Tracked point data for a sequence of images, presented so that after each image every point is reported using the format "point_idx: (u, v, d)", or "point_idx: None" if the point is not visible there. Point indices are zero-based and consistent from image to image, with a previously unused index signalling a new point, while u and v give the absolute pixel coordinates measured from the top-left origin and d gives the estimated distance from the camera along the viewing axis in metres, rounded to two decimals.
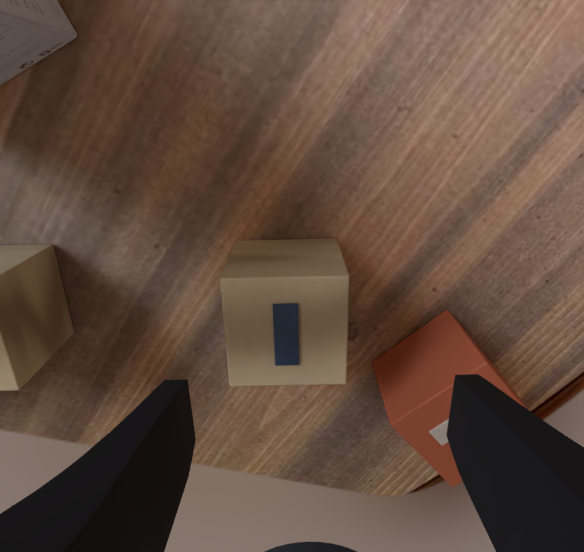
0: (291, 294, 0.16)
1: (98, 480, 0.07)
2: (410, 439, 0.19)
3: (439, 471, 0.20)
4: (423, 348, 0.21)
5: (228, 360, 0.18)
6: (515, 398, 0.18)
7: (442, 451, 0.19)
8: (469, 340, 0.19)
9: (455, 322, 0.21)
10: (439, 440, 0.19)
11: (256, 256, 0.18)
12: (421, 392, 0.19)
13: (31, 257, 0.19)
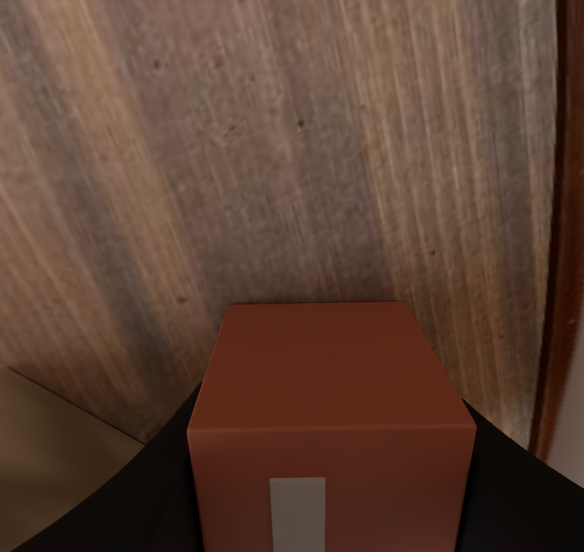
0: None
1: (158, 479, 0.07)
2: None
3: None
4: None
5: None
6: (326, 430, 0.07)
7: None
8: (206, 371, 0.09)
9: (219, 331, 0.11)
10: None
11: None
12: None
13: None
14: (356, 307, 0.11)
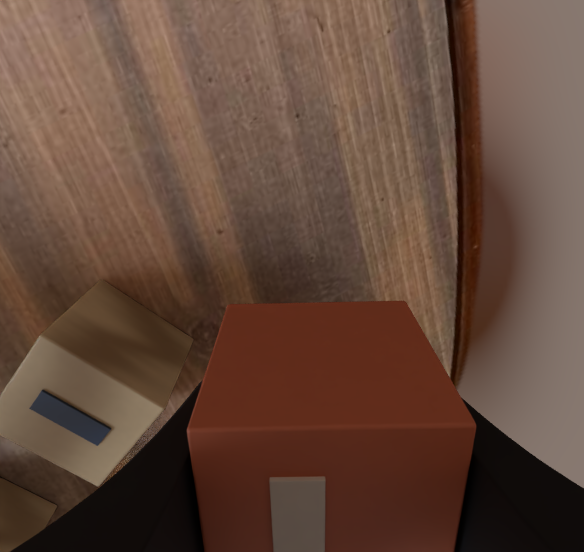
0: (30, 388, 0.15)
1: (158, 479, 0.07)
2: None
3: None
4: None
5: (69, 471, 0.17)
6: (325, 429, 0.07)
7: None
8: (206, 370, 0.09)
9: (219, 330, 0.11)
10: None
11: None
12: None
13: None
14: (356, 307, 0.11)
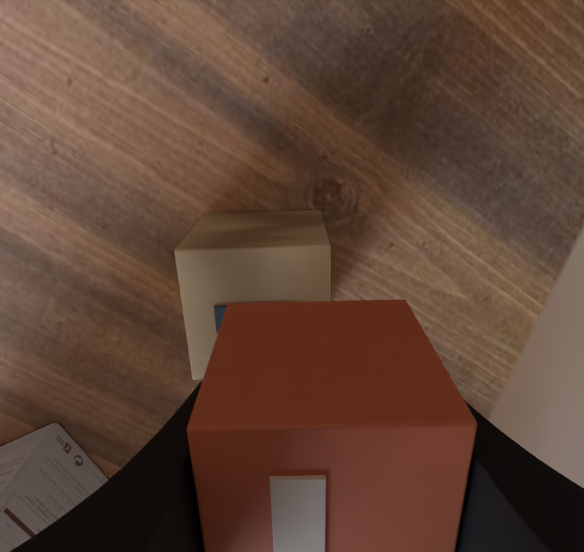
0: (204, 312, 0.14)
1: (158, 479, 0.07)
2: None
3: None
4: None
5: None
6: (326, 428, 0.07)
7: None
8: (206, 369, 0.09)
9: (219, 329, 0.11)
10: None
11: None
12: None
13: None
14: (356, 305, 0.11)
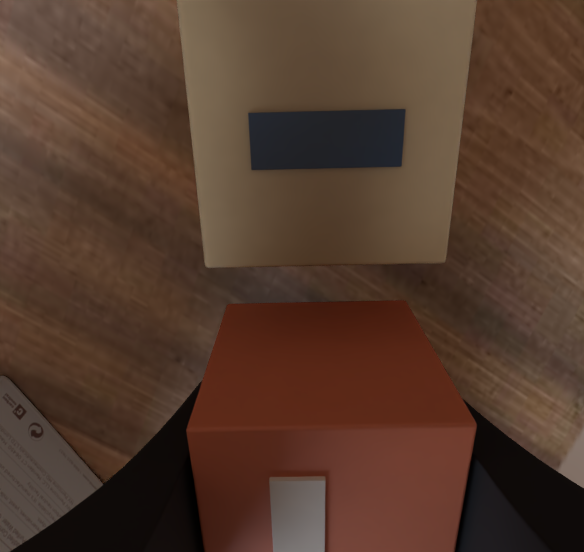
0: (230, 128, 0.08)
1: (158, 479, 0.07)
2: None
3: None
4: None
5: (382, 262, 0.09)
6: (325, 429, 0.07)
7: None
8: (206, 370, 0.09)
9: (219, 330, 0.11)
10: None
11: None
12: None
13: None
14: (356, 306, 0.11)
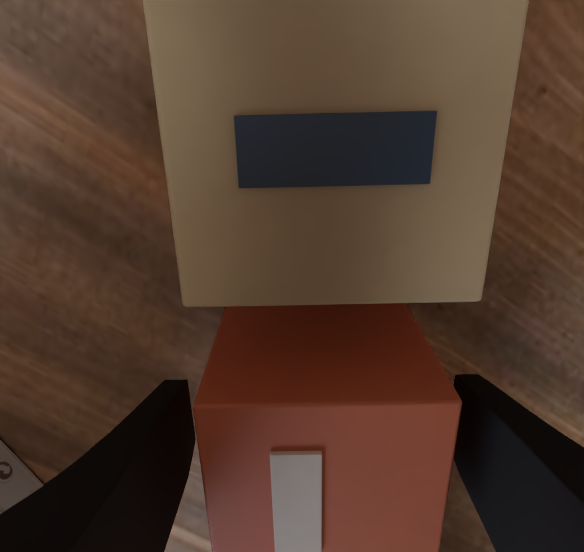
0: (211, 135, 0.06)
1: (98, 480, 0.07)
2: None
3: None
4: None
5: (403, 300, 0.07)
6: (322, 406, 0.08)
7: None
8: (210, 354, 0.10)
9: (222, 319, 0.11)
10: (305, 551, 0.09)
11: None
12: None
13: None
14: None
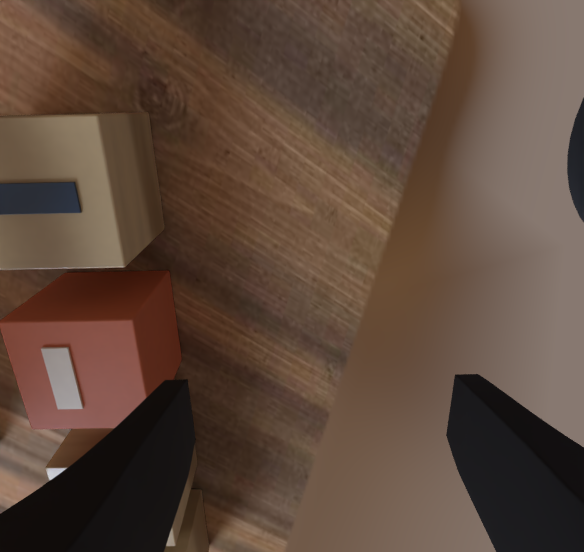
0: None
1: (98, 480, 0.07)
2: (60, 425, 0.17)
3: None
4: None
5: (87, 267, 0.15)
6: (63, 322, 0.16)
7: (95, 411, 0.17)
8: (26, 301, 0.17)
9: None
10: (73, 407, 0.17)
11: None
12: None
13: None
14: (136, 273, 0.20)
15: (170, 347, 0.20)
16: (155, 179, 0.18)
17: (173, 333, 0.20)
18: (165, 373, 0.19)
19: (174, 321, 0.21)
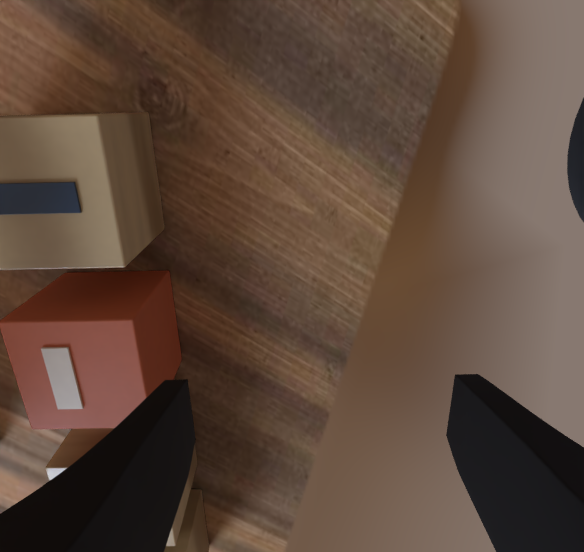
0: None
1: (98, 480, 0.07)
2: (60, 425, 0.17)
3: None
4: None
5: (87, 267, 0.15)
6: (63, 322, 0.16)
7: (95, 411, 0.17)
8: (27, 301, 0.17)
9: None
10: (73, 407, 0.17)
11: None
12: None
13: None
14: (136, 273, 0.20)
15: (170, 347, 0.20)
16: (155, 179, 0.18)
17: (173, 333, 0.20)
18: (165, 373, 0.19)
19: (174, 321, 0.21)
